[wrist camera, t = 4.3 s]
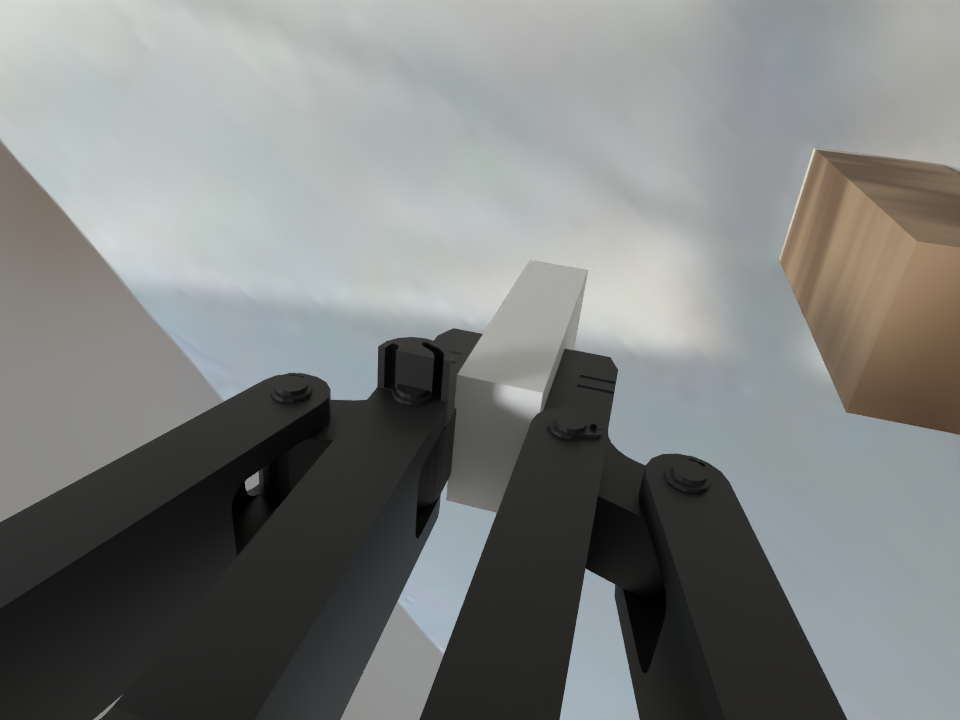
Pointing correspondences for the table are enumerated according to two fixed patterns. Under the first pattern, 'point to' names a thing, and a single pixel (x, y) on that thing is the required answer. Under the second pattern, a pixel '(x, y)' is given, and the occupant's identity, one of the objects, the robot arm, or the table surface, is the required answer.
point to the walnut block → (881, 283)
